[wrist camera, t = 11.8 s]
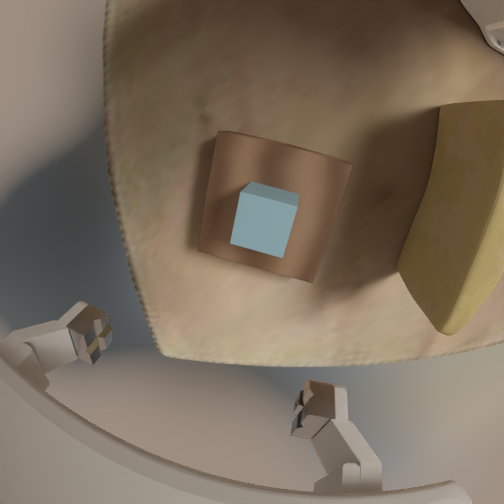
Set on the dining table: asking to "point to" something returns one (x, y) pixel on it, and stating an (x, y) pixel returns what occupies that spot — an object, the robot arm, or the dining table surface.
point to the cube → (264, 218)
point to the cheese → (459, 217)
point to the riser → (282, 177)
